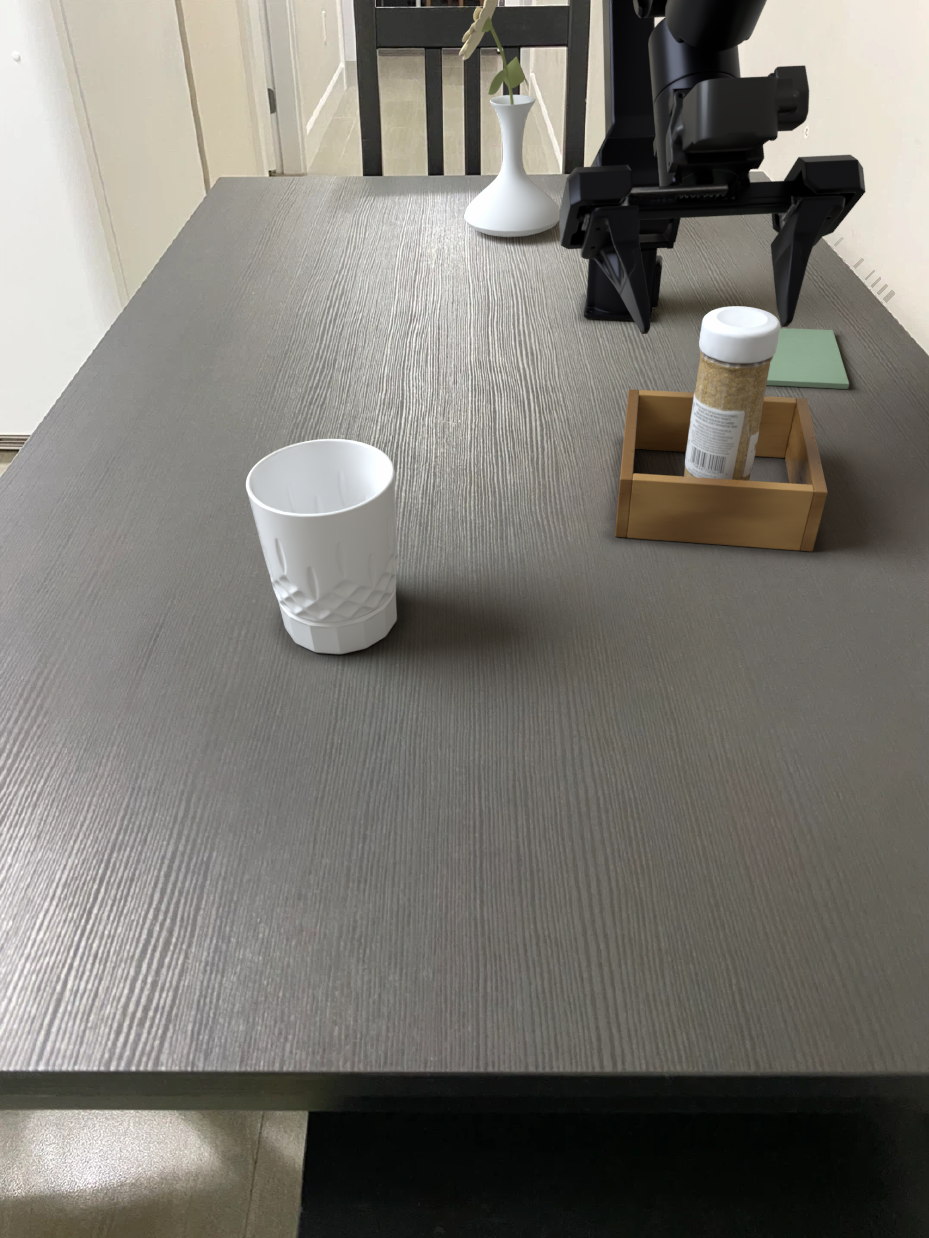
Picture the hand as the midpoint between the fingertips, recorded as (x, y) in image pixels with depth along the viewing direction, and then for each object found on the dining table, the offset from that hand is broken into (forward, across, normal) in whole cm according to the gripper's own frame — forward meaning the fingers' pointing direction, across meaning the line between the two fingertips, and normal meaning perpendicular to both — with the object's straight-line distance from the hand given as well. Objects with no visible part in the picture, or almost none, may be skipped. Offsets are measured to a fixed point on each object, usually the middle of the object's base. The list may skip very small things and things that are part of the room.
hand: (716, 328), depth 61 cm
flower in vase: (-32, -9, +47) cm, 58 cm away
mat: (-6, +12, +21) cm, 24 cm away
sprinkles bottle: (+11, 0, +5) cm, 12 cm away
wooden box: (+10, 0, +6) cm, 11 cm away
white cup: (+18, -25, -2) cm, 31 cm away
